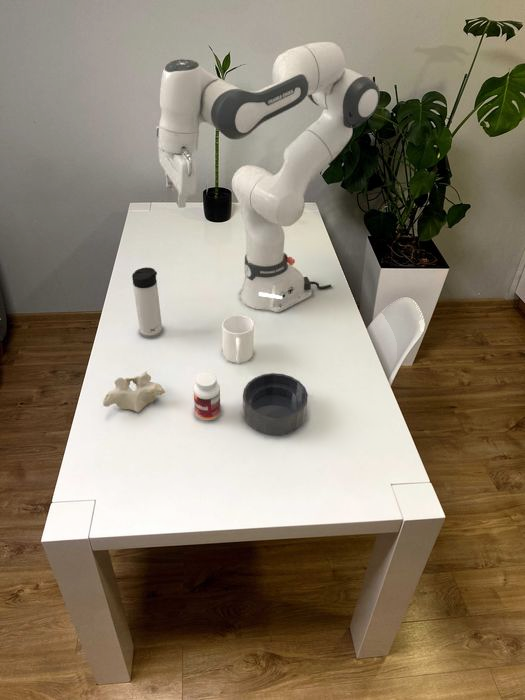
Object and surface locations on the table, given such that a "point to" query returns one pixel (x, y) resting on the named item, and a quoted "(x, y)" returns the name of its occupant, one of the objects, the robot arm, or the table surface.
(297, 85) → the robot arm
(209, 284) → the table surface
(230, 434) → the table surface
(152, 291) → the travel mug
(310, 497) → the table surface
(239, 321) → the cup
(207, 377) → the pill bottle
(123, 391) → the bone
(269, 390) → the bowl
